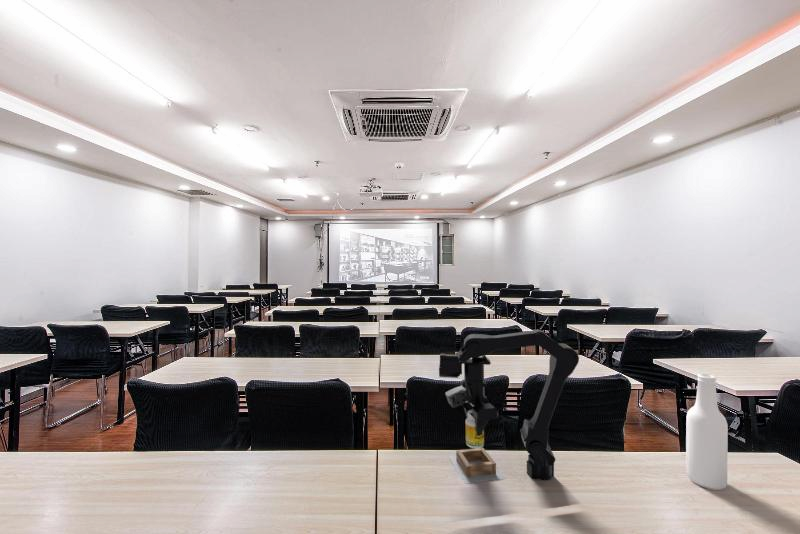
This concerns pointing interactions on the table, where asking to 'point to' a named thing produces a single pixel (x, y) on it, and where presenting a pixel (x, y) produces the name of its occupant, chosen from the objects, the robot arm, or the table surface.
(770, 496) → the table surface
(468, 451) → the collar
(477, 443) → the supplement bottle
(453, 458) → the board
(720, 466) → the alcohol
